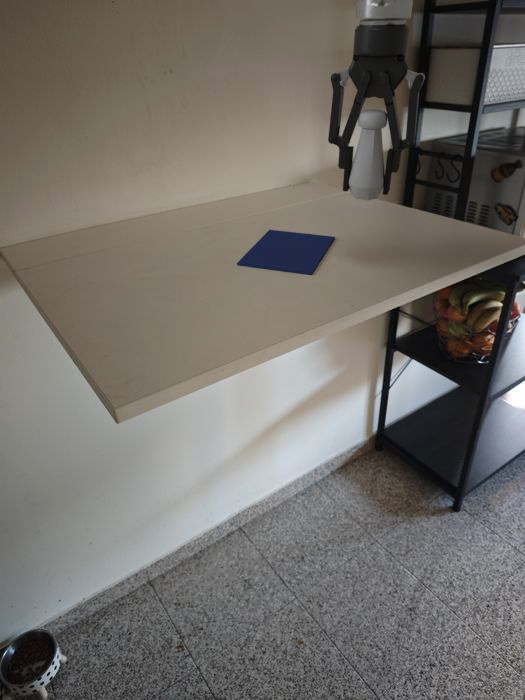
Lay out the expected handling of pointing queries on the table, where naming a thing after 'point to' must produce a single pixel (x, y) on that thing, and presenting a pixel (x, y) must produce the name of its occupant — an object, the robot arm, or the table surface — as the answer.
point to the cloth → (287, 252)
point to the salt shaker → (369, 157)
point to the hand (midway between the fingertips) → (366, 190)
